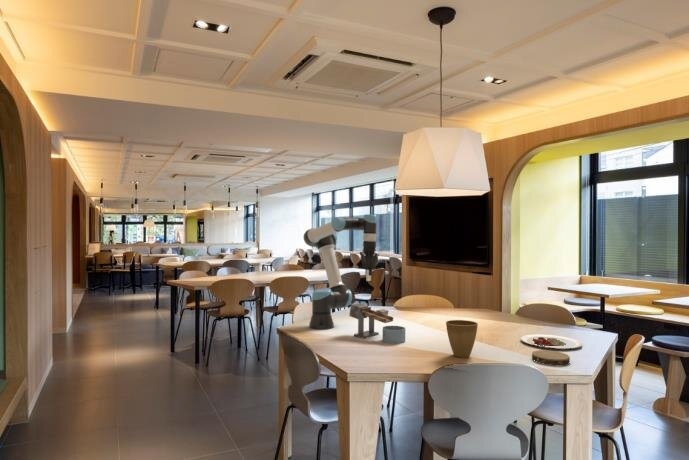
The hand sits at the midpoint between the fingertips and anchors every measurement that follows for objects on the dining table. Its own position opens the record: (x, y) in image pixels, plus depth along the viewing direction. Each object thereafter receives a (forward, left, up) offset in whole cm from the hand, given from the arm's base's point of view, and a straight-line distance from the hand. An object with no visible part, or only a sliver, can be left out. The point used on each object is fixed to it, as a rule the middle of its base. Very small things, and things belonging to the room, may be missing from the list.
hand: (368, 280), depth 267 cm
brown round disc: (+98, +11, -31) cm, 104 cm away
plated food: (+89, +45, -31) cm, 104 cm away
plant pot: (+63, -9, -31) cm, 71 cm away
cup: (+22, -6, -31) cm, 38 cm away
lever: (+6, -3, -22) cm, 23 cm away
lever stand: (+3, -6, -31) cm, 31 cm away
